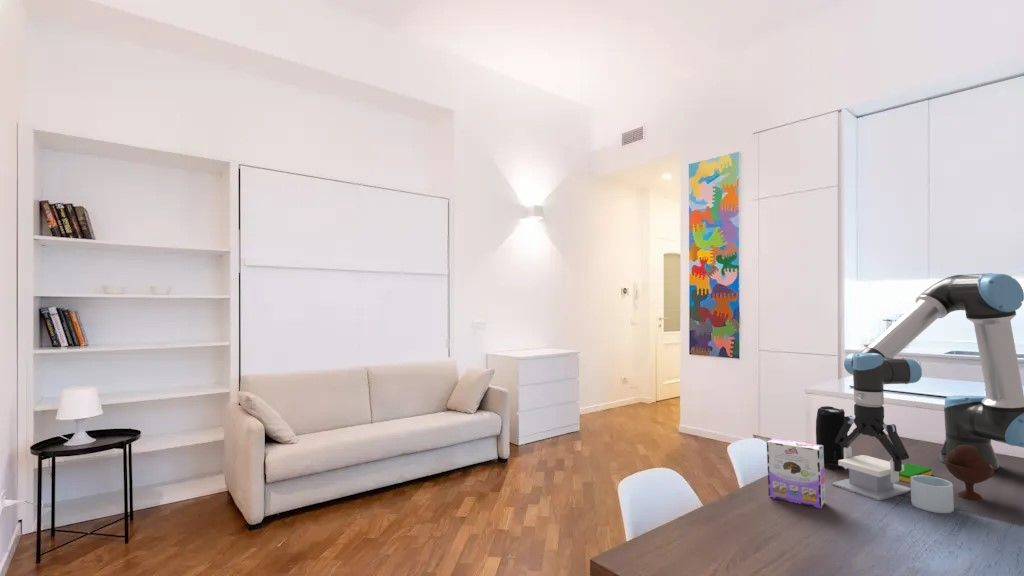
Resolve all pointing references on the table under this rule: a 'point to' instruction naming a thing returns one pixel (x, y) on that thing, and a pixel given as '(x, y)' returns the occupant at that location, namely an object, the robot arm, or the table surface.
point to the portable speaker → (830, 434)
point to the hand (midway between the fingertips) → (870, 474)
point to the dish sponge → (913, 472)
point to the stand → (871, 485)
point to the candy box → (796, 472)
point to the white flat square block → (867, 465)
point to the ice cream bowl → (968, 469)
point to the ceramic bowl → (932, 494)
